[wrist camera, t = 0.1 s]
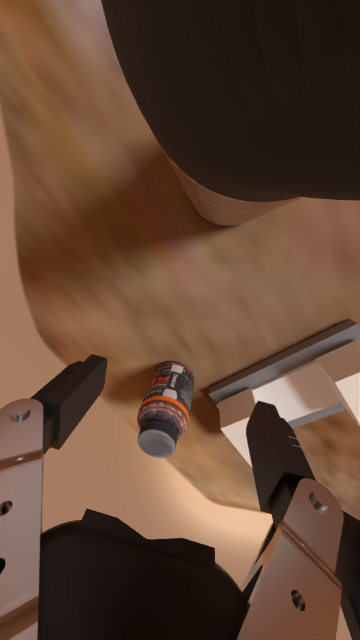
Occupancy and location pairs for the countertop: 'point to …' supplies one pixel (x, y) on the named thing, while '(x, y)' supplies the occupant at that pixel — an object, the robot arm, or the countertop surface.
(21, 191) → the countertop surface
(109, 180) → the countertop surface
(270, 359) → the rail board
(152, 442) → the supplement bottle
